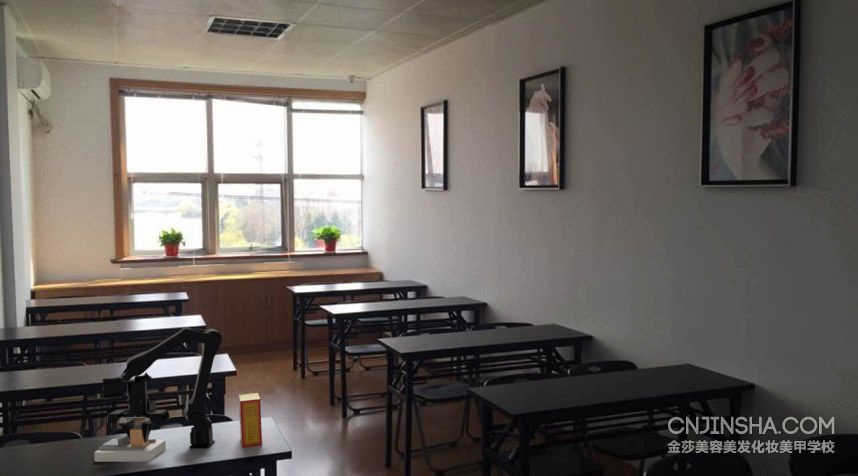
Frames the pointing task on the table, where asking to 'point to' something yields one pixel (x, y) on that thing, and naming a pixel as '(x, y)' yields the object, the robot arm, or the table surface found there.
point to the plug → (137, 436)
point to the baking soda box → (250, 420)
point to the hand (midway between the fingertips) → (139, 442)
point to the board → (131, 452)
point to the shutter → (118, 442)
